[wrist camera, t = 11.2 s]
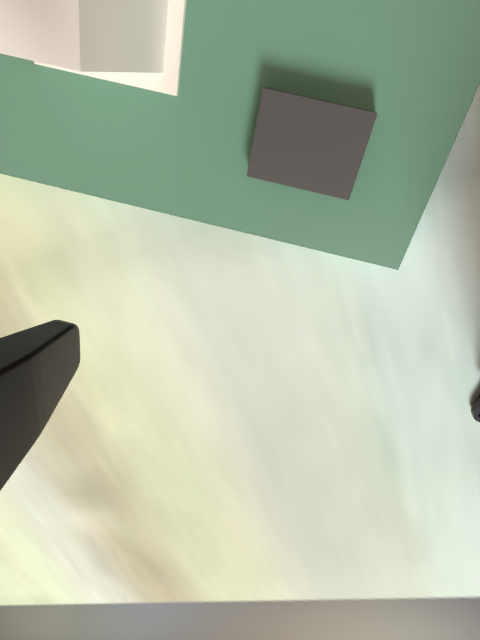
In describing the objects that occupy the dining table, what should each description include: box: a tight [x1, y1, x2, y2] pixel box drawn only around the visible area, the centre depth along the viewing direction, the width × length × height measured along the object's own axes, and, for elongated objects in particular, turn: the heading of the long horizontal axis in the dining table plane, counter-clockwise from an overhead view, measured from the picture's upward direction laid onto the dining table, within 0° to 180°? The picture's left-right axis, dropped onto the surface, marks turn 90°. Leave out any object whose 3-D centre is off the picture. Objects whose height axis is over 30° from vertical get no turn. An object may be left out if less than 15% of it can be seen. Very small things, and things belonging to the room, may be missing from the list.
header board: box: [0, 0, 480, 270], centre depth 14 cm, size 20×14×3 cm
